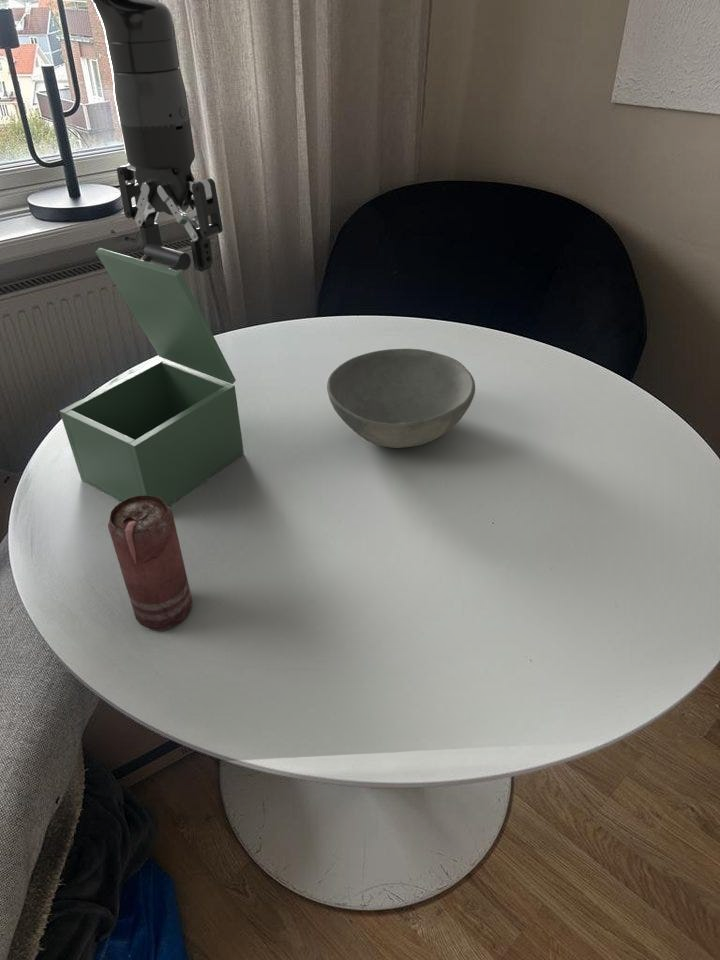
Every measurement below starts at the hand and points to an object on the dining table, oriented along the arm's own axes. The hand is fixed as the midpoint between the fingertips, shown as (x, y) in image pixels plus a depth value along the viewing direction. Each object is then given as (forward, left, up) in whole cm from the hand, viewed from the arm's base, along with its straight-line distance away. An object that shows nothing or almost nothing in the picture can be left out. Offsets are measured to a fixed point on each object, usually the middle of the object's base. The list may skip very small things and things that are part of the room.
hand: (178, 262), depth 87 cm
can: (-10, -32, -26) cm, 43 cm away
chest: (-7, -5, -26) cm, 28 cm away
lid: (-3, -2, -7) cm, 7 cm away
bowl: (+27, -7, -26) cm, 38 cm away
